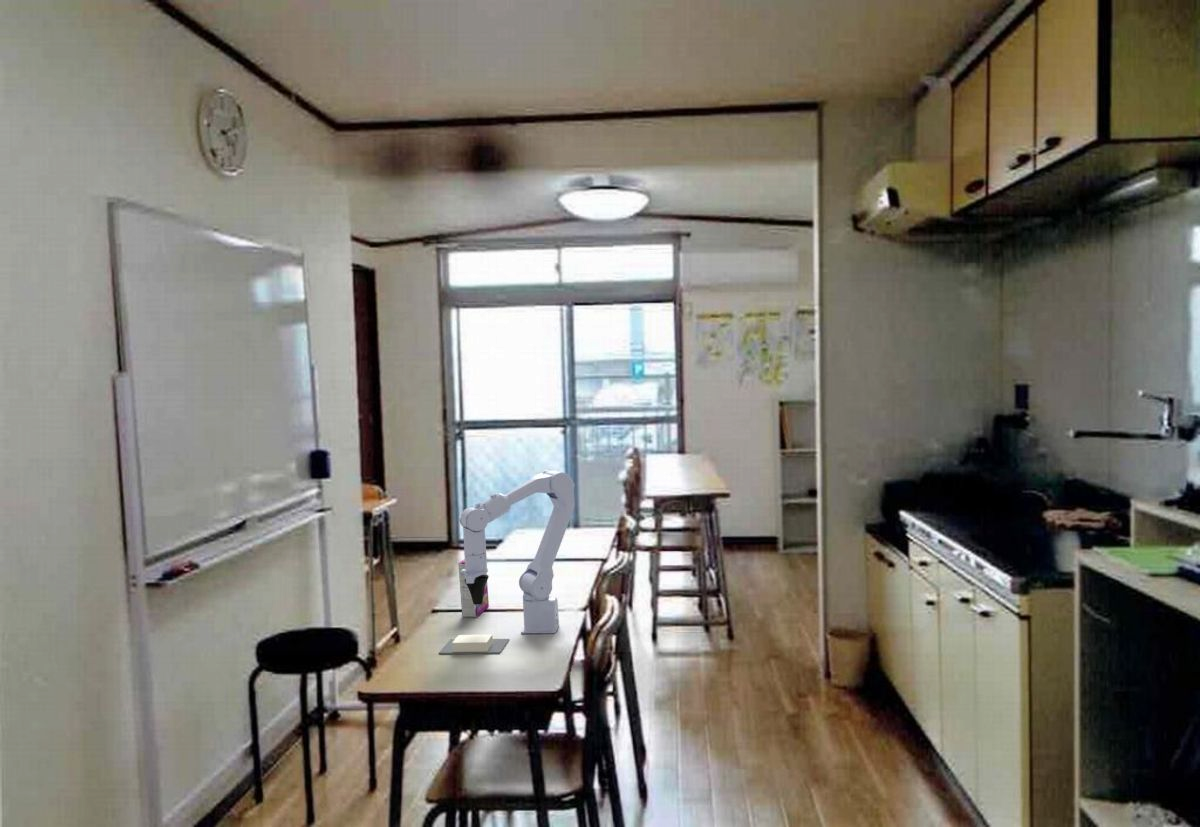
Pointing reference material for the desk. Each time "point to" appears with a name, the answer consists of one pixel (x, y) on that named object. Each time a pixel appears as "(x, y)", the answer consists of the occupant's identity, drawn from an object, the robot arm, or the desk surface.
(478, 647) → the block
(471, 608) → the candy bar box
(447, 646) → the mat
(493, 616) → the desk surface
